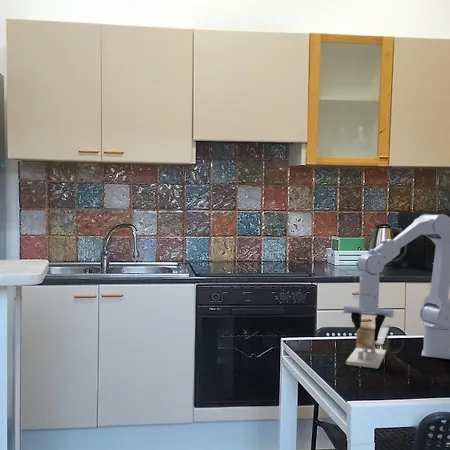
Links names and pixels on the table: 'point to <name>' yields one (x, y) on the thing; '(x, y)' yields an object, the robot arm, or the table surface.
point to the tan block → (366, 336)
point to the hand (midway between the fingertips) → (367, 339)
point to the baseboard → (382, 335)
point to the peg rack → (366, 357)
